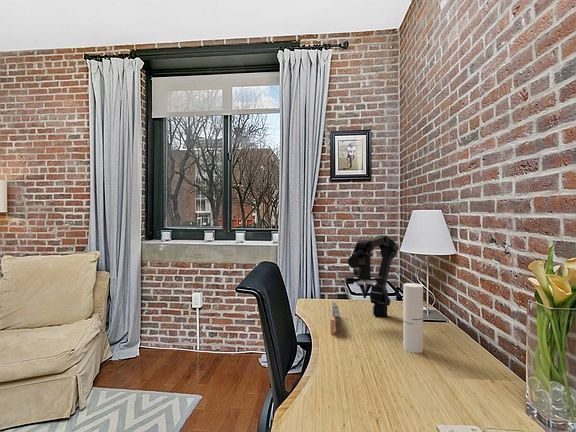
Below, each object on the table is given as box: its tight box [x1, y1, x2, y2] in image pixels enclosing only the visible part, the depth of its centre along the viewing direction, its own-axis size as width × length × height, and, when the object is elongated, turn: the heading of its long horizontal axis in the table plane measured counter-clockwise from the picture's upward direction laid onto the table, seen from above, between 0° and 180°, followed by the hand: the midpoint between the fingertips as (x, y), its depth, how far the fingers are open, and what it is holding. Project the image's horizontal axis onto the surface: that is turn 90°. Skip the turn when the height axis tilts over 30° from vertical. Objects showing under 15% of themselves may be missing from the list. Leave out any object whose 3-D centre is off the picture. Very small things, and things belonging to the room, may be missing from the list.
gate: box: [332, 306, 341, 333], centre depth 151 cm, size 16×2×7 cm, turn 175°
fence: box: [329, 302, 338, 335], centre depth 156 cm, size 4×27×8 cm, turn 176°
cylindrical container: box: [402, 282, 424, 354], centre depth 127 cm, size 7×7×25 cm
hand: (364, 298), depth 158 cm, fingers closed
